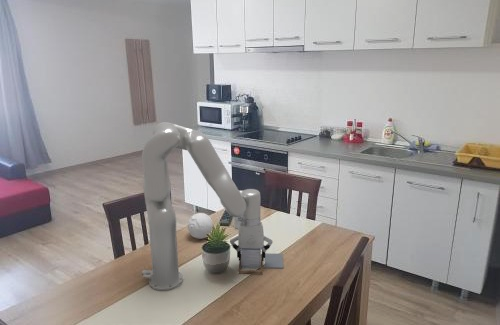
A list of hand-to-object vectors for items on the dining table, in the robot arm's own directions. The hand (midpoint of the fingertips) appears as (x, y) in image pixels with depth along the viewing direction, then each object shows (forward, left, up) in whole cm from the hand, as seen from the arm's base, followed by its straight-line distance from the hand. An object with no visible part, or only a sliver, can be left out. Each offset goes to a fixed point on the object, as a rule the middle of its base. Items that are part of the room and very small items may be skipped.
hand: (251, 259), depth 151 cm
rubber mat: (+9, +3, -3) cm, 10 cm away
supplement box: (-5, +36, -3) cm, 37 cm away
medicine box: (0, 0, -3) cm, 3 cm away
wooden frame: (0, 0, -3) cm, 3 cm away
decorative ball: (-25, +24, -3) cm, 35 cm away
